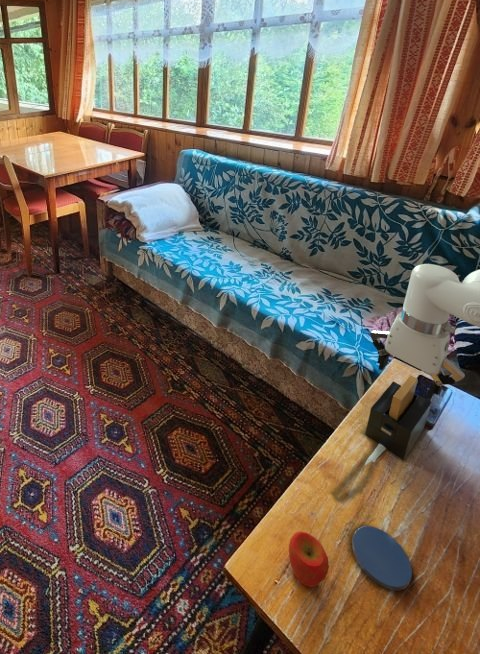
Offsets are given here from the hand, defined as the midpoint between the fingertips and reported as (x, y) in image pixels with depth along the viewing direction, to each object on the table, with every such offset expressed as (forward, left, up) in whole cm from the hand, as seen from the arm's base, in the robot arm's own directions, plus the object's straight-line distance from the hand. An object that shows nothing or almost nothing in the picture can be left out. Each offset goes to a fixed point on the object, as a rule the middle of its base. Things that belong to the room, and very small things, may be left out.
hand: (406, 379), depth 85 cm
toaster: (0, 0, -17) cm, 17 cm away
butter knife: (+6, +10, -17) cm, 21 cm away
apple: (+22, +37, -17) cm, 46 cm away
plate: (+9, +30, -17) cm, 35 cm away
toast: (0, 0, -13) cm, 13 cm away
